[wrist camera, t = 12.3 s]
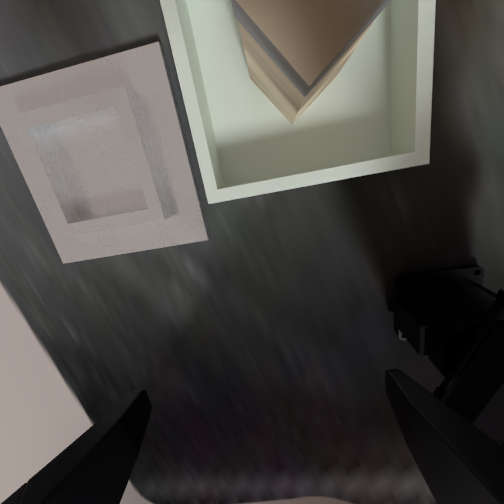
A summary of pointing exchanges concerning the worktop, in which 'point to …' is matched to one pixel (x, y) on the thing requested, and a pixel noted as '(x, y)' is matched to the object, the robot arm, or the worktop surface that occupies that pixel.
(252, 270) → the worktop surface
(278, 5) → the strut
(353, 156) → the bin
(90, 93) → the socket collar
